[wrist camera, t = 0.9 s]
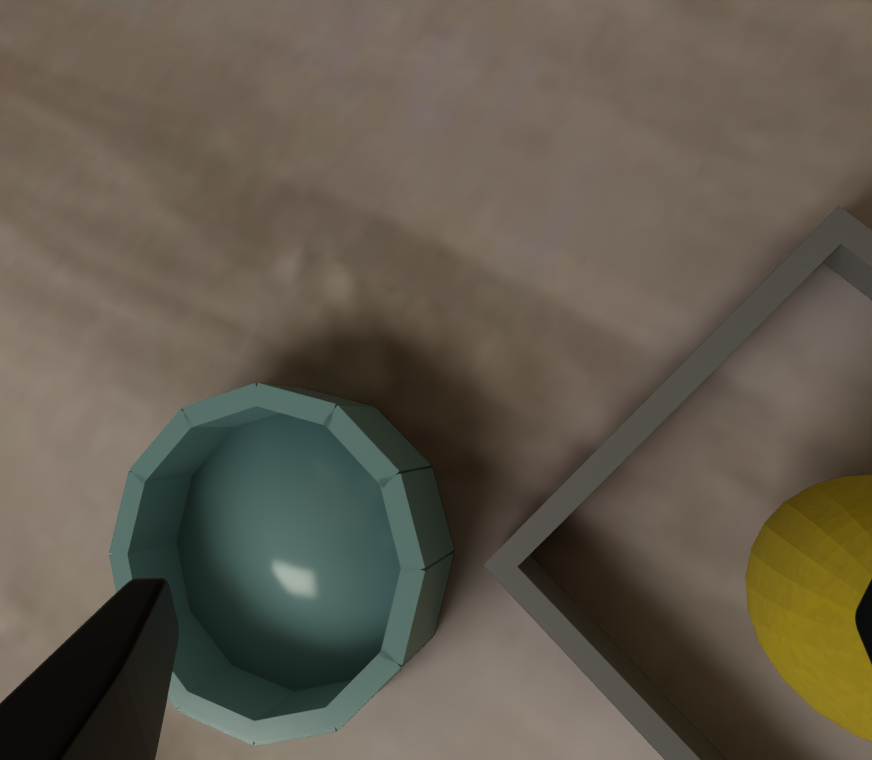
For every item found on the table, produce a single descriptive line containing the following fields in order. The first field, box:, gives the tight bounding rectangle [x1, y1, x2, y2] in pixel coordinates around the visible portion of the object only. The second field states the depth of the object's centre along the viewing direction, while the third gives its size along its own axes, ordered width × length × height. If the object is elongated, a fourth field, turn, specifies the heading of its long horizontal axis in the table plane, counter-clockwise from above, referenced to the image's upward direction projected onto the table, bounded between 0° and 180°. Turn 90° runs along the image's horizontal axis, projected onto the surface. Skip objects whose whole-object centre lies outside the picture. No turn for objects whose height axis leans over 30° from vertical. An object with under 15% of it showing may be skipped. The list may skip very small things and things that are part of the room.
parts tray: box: [483, 206, 872, 760], centre depth 18 cm, size 13×13×2 cm
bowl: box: [109, 383, 454, 746], centre depth 22 cm, size 10×10×3 cm
